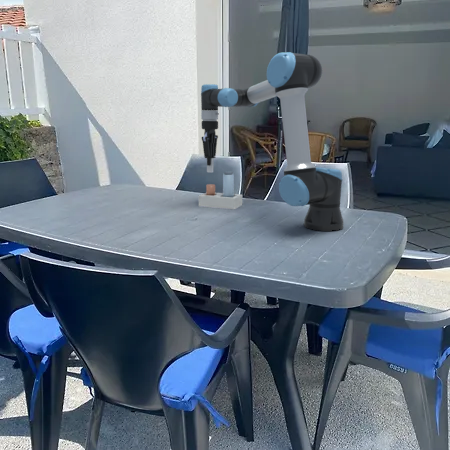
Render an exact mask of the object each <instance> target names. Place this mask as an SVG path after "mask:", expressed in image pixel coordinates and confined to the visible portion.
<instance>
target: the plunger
mask: <svg viewBox="0 0 450 450" xmlns="http://www.w3.org/2000/svg"><path fill="white" fill-rule="evenodd" d="M205 186H206V192H205V193H206V195H211V196H214V195H215V193H216V184H212V183H207V184H206V185H205Z"/></svg>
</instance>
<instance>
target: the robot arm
mask: <svg viewBox="0 0 450 450" xmlns="http://www.w3.org/2000/svg"><path fill="white" fill-rule="evenodd" d="M322 76H323V68H322V64H321V62H320V60H319V59H318V58H317V57H316V56H314V55H311V54H307V53H305V54H304V53H295V52H290V51H287V52H278V53H277V54H274V56H273V57H272V58H271V59H270V61H269V63H268V65H267V68H266V80H264V81H263V80H262V81H261V82H259V83H256V84H254V85H252V86H249V87H247V88H243V89H242V88H230V87H224V88H219V85H217V84H211V83H209V84H208V83H206V84H205V83H204V84H202V85H201V90H200V92H201V93H200V97H201V99H200V101H201V102H200V103H201V106H200V107H201V115H200V116H201V129H202V130H204V134H203V136H201V141H202V147H203V148H202V149H203V157H204V159H206V173H210V174H211V173H214V159H216V154H217V144H218V138H219V135H218V134H216V130H218V129H219V113H220V112H219V108H221V107H222V108H234V107H235V108H238V107H240V108H242V107H244V108H252V107H253V108H254V107H257V105H258V104H259V103H262V102H264V101H268V100H270V99H273V98H275V97H278V98H279V100H280V109H281V118H282V119H281V120H282V128H283V136H284V137H283V138H284V146H285V147H284V148H285V157H286V158H285V159H286V167H285V168H284V169H283V175H284V176H283V177H281V178H280V182H279V183H278V191H279V195H280V198H281V199H282V201H284V202H285V204H286V205H289V206H290V207H291V206H292V207H304V206H307V205H309V207H308V209H307V212H306V215H305V218H304V221H303V226H304V227H305V228H306V229H310V230H312V229H313V231H318V230H321V231H320V232H333V231H332V230H336V231H339V229H340V230H342V229H344V219H343V214H342V212H341V196H342V183H343V173H342V171H341V169H335V168H328V167H320V166H319V167H317V166H315V164H313V162H312V159H311V151H310V150H311V147H310V139H309V137H310V136H309V131H308V121H307V120H308V119H307V110H306V99H305V95H306V94H307V92H308V91H309V89H310V88H313V87H314V86H316V85H317V84H318V83H319V82H320V80H321V79H322Z"/></svg>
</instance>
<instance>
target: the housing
mask: <svg viewBox="0 0 450 450" xmlns="http://www.w3.org/2000/svg"><path fill="white" fill-rule="evenodd" d="M242 205H243V194H240V193H239V194H238V193H234V197H223V192H215V195H214V196H211V195H206V192H204V193H202V194H200V195H198V207H203V208H204V207H205V208H214V209H225V210H226V209H227V210H236V209H238V208H240V207H241V206H242Z"/></svg>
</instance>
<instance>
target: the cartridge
mask: <svg viewBox="0 0 450 450" xmlns="http://www.w3.org/2000/svg"><path fill="white" fill-rule="evenodd" d="M234 191H235V173H234V171H224V172H223V174H222V193H223V197H234V194H235V192H234Z"/></svg>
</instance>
